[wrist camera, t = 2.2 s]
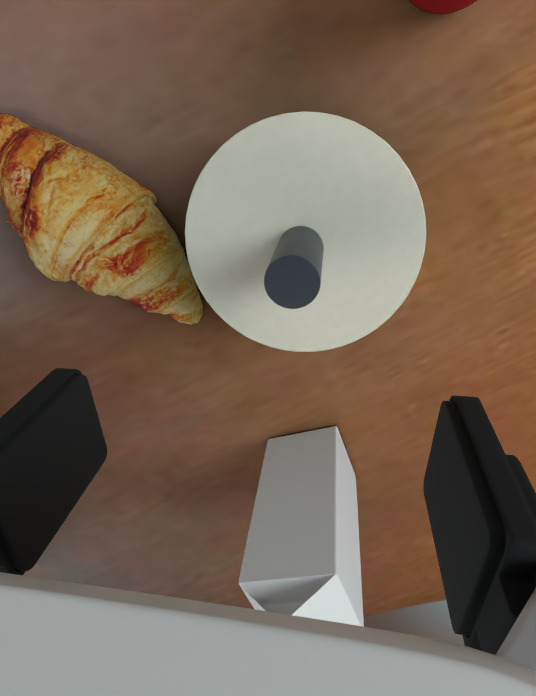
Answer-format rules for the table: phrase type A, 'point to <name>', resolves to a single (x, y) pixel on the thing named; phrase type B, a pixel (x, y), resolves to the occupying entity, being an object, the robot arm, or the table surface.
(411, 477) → the table surface
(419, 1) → the beverage can
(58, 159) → the croissant
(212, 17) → the table surface
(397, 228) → the lid
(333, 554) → the milk carton
